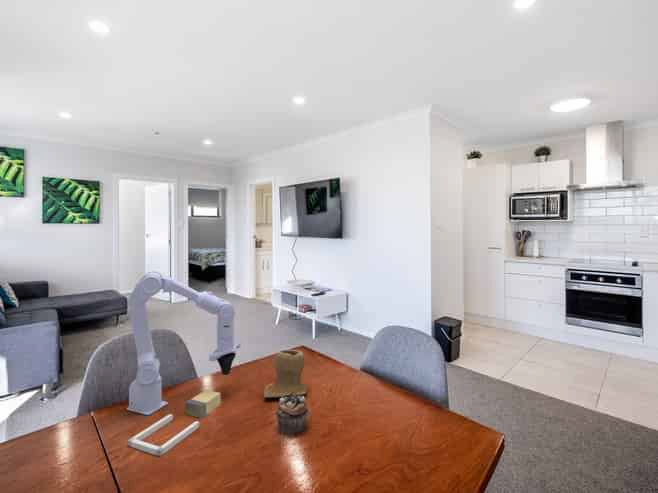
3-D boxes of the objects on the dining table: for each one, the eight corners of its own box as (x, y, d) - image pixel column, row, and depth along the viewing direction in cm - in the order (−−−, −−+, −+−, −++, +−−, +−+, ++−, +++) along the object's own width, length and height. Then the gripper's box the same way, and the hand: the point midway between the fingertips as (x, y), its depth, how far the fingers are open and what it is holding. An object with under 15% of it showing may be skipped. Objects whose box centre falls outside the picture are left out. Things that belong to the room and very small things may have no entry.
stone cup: (304, 383, 130) (304, 344, 130) (308, 399, 119) (308, 356, 118) (264, 386, 128) (264, 347, 127) (263, 402, 116) (263, 359, 115)
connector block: (186, 414, 108) (186, 402, 108) (206, 401, 117) (206, 389, 116) (201, 418, 106) (201, 405, 106) (220, 404, 114) (220, 392, 114)
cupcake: (314, 423, 104) (314, 391, 103) (295, 440, 95) (295, 405, 95) (289, 414, 109) (289, 383, 108) (268, 429, 100) (268, 396, 100)
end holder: (127, 445, 92) (127, 440, 92) (169, 418, 106) (169, 414, 105) (159, 456, 88) (159, 450, 88) (199, 426, 101) (199, 421, 101)
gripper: (221, 344, 112) (221, 384, 113) (247, 331, 126) (247, 367, 127) (204, 341, 115) (204, 381, 116) (231, 329, 128) (231, 365, 129)
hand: (225, 374), depth 121 cm, fingers closed
